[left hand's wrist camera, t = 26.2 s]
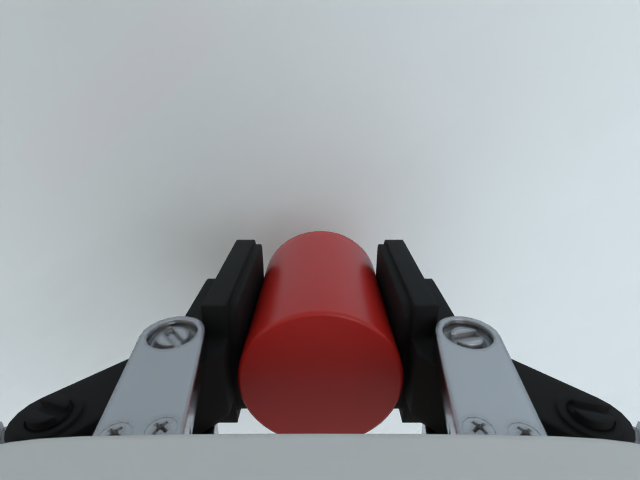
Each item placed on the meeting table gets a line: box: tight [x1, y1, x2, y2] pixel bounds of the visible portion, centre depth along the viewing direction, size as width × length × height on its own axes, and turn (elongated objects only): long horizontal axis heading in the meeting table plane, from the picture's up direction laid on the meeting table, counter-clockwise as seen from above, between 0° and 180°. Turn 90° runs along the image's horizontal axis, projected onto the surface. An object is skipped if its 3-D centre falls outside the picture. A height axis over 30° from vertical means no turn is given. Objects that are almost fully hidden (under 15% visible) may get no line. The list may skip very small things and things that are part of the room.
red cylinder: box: [238, 231, 404, 434], centre depth 10 cm, size 4×4×5 cm
